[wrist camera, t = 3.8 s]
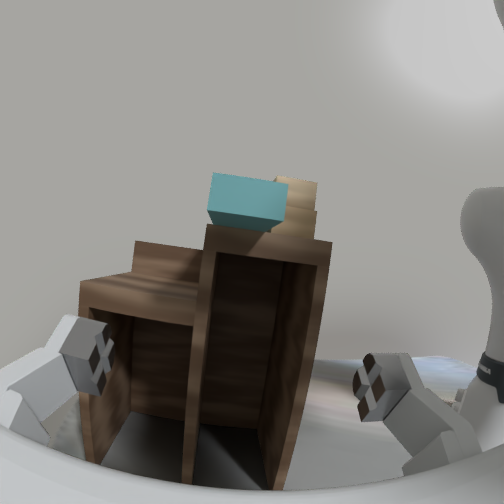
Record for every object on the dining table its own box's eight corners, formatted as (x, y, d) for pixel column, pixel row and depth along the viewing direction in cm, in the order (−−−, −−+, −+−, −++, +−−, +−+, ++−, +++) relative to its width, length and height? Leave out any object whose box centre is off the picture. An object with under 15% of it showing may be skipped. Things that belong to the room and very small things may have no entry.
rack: (280, 497, 24) (339, 170, 25) (87, 468, 22) (104, 140, 23) (262, 425, 40) (297, 201, 41) (126, 406, 38) (147, 181, 39)
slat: (283, 221, 16) (288, 184, 16) (206, 209, 16) (213, 172, 16) (250, 240, 38) (253, 223, 38) (218, 235, 38) (220, 219, 38)
